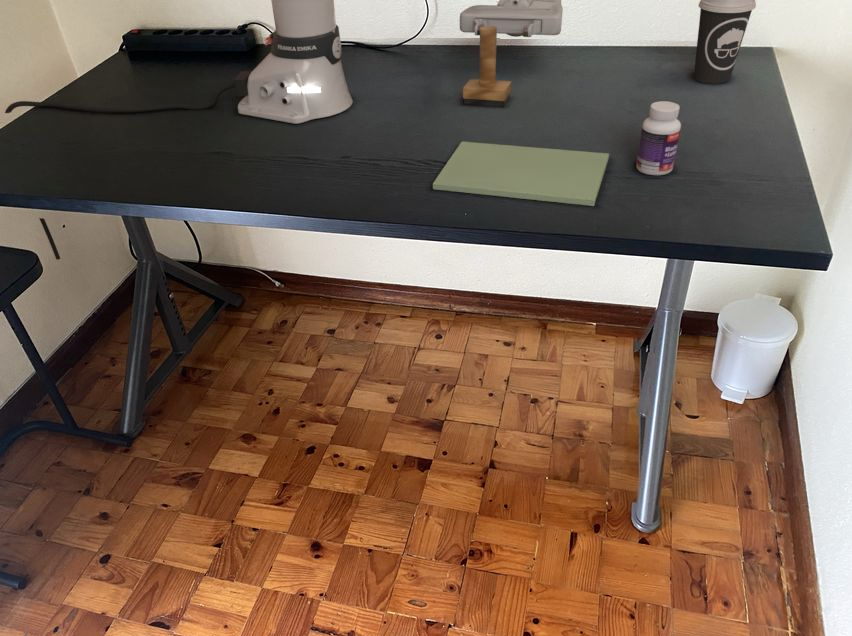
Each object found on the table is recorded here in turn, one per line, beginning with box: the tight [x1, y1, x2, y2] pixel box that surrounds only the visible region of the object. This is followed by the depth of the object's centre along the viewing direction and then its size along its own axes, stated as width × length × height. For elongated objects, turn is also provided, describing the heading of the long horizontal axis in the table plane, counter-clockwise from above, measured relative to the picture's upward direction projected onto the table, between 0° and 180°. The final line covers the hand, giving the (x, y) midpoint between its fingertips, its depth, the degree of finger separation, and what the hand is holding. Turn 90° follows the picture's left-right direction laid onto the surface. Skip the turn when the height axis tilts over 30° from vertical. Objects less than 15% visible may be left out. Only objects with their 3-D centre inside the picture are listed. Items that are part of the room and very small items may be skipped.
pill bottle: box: [635, 100, 682, 176], centre depth 108 cm, size 5×5×10 cm
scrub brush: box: [462, 26, 512, 108], centre depth 134 cm, size 8×5×13 cm, turn 70°
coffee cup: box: [693, 0, 757, 85], centre depth 135 cm, size 10×10×15 cm
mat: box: [432, 141, 610, 207], centre depth 113 cm, size 24×16×1 cm, turn 70°
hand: (502, 31), depth 140 cm, fingers open, 8 cm apart
